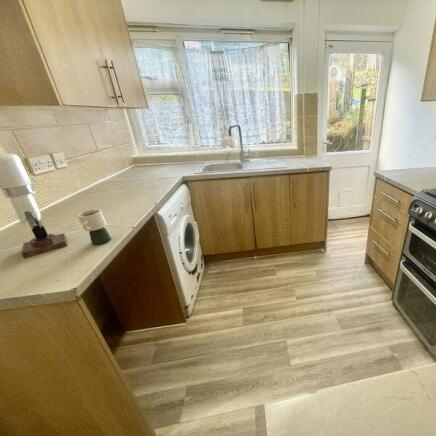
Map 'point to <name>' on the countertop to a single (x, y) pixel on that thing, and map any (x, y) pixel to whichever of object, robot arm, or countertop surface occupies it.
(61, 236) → the button box
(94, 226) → the character mug
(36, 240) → the button
